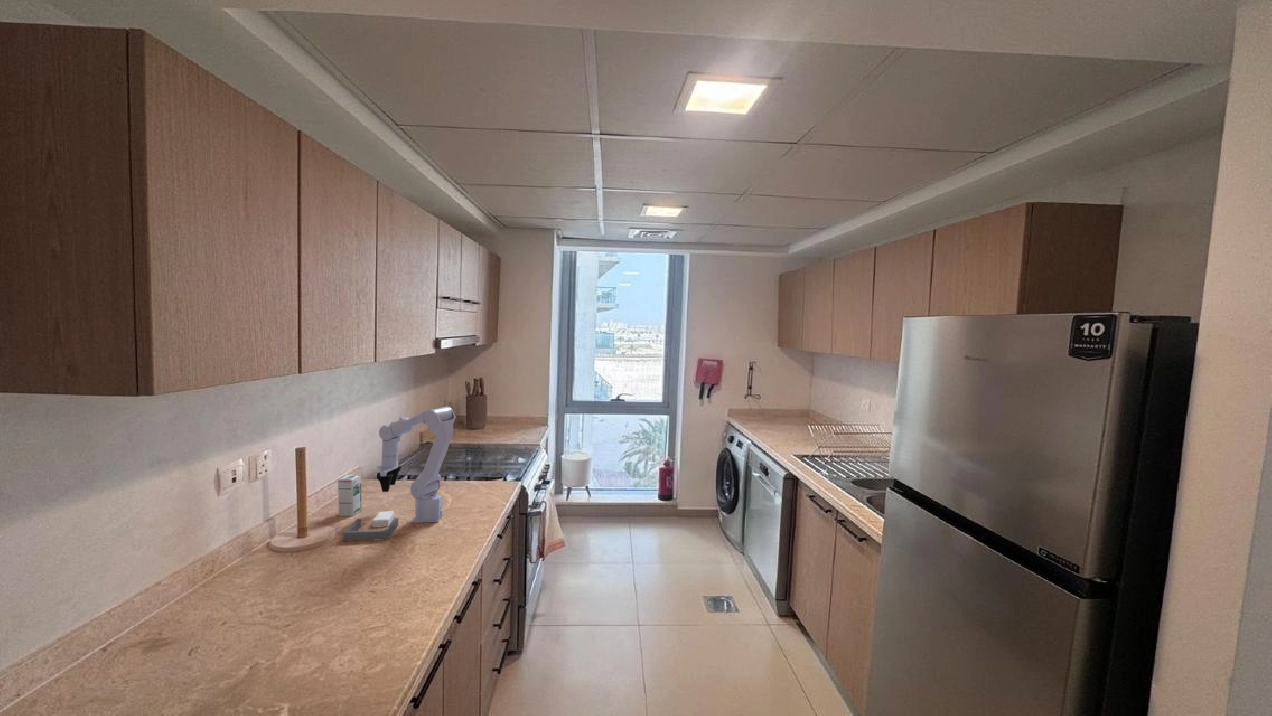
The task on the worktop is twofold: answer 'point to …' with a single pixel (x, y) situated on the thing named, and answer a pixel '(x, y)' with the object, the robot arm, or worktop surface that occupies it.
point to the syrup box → (349, 495)
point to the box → (368, 532)
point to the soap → (383, 519)
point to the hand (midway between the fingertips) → (388, 488)
